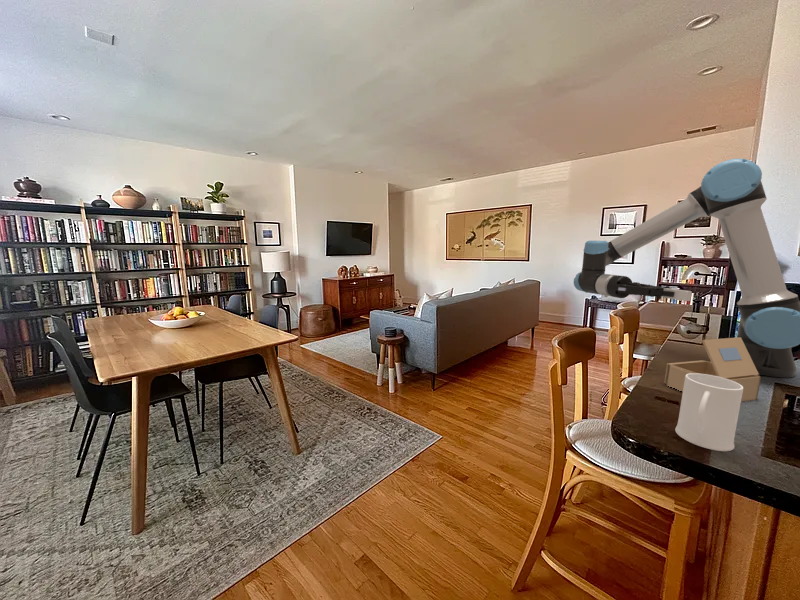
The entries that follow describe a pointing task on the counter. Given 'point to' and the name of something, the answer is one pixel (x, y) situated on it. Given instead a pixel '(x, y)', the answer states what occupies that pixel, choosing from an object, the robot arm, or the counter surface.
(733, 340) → the flap
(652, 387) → the counter surface
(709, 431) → the mug
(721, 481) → the counter surface
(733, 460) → the counter surface
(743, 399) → the carton
